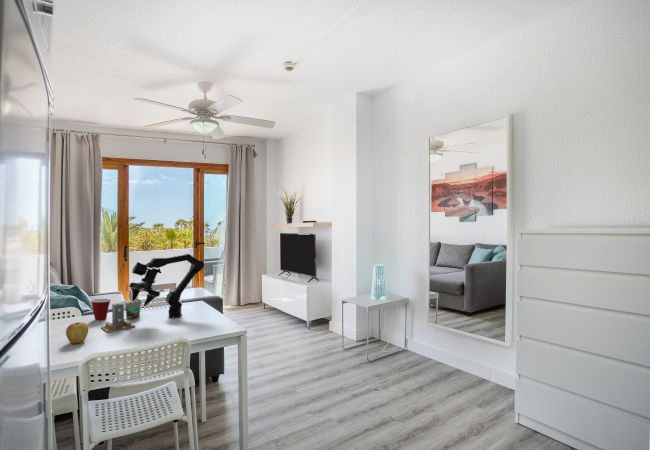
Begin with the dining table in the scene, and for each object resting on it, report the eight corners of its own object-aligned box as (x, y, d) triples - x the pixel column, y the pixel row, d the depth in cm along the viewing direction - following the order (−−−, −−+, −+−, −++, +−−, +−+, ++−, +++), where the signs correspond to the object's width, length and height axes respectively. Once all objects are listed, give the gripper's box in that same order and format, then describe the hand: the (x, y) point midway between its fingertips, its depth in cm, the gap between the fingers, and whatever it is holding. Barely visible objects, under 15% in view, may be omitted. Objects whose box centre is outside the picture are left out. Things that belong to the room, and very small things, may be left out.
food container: (135, 320, 223) (135, 303, 223) (125, 320, 223) (124, 303, 223) (145, 314, 235) (145, 299, 235) (136, 314, 235) (135, 299, 235)
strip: (121, 324, 210) (120, 302, 210) (123, 326, 207) (123, 303, 207) (112, 326, 207) (112, 303, 207) (115, 328, 204) (114, 304, 204)
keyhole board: (127, 323, 216) (127, 318, 216) (135, 327, 208) (135, 321, 208) (100, 328, 206) (100, 322, 206) (107, 332, 198) (107, 327, 198)
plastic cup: (114, 318, 226) (114, 299, 226) (95, 322, 217) (95, 302, 217) (106, 315, 232) (106, 296, 232) (87, 319, 224) (87, 299, 224)
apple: (84, 338, 189) (84, 318, 189) (91, 342, 183) (90, 321, 183) (63, 343, 182) (63, 322, 182) (69, 347, 176) (69, 326, 176)
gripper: (128, 271, 217) (116, 297, 214) (152, 280, 211) (140, 307, 208) (141, 274, 228) (130, 299, 224) (165, 283, 221) (154, 308, 218)
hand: (138, 303), depth 218 cm, fingers open, 9 cm apart
